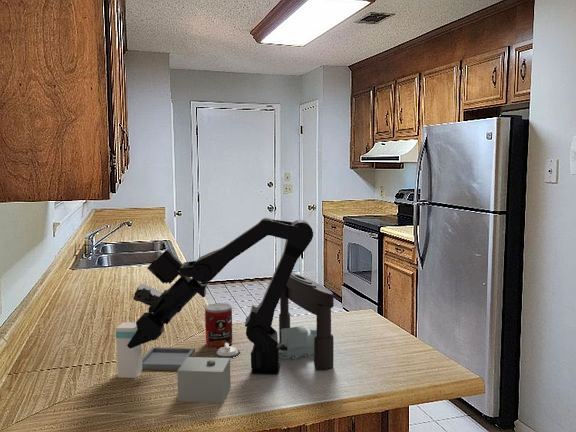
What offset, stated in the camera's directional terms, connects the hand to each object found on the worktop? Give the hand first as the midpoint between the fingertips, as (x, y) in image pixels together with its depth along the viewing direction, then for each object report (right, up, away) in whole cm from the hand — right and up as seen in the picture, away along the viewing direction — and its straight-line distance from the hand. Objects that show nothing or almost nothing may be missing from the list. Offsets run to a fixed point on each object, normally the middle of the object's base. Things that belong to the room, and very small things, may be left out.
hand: (133, 340), depth 128 cm
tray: (+6, -7, +8) cm, 13 cm away
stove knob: (+22, -7, +13) cm, 26 cm away
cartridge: (-1, -8, 0) cm, 8 cm away
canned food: (+18, -6, +21) cm, 29 cm away
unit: (+20, -9, -12) cm, 25 cm away
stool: (+43, -7, +13) cm, 45 cm away
